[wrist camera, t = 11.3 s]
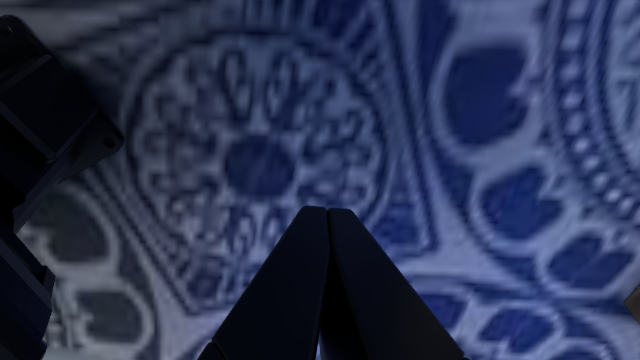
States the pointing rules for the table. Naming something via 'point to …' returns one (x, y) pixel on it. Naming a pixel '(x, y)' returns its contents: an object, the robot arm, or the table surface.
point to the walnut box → (634, 304)
